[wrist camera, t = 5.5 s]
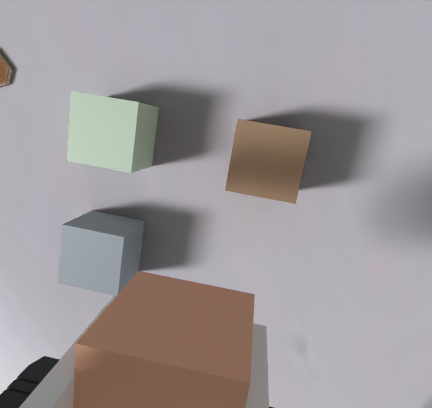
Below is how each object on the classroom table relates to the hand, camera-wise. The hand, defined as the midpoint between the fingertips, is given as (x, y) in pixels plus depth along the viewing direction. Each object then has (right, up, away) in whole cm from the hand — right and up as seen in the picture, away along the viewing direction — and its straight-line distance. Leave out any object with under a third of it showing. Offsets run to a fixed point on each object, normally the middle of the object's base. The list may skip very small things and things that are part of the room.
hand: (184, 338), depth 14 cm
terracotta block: (0, 0, 0) cm, 0 cm away
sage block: (-6, +12, +15) cm, 20 cm away
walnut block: (+5, +10, +14) cm, 18 cm away
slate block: (-8, +2, +17) cm, 19 cm away
